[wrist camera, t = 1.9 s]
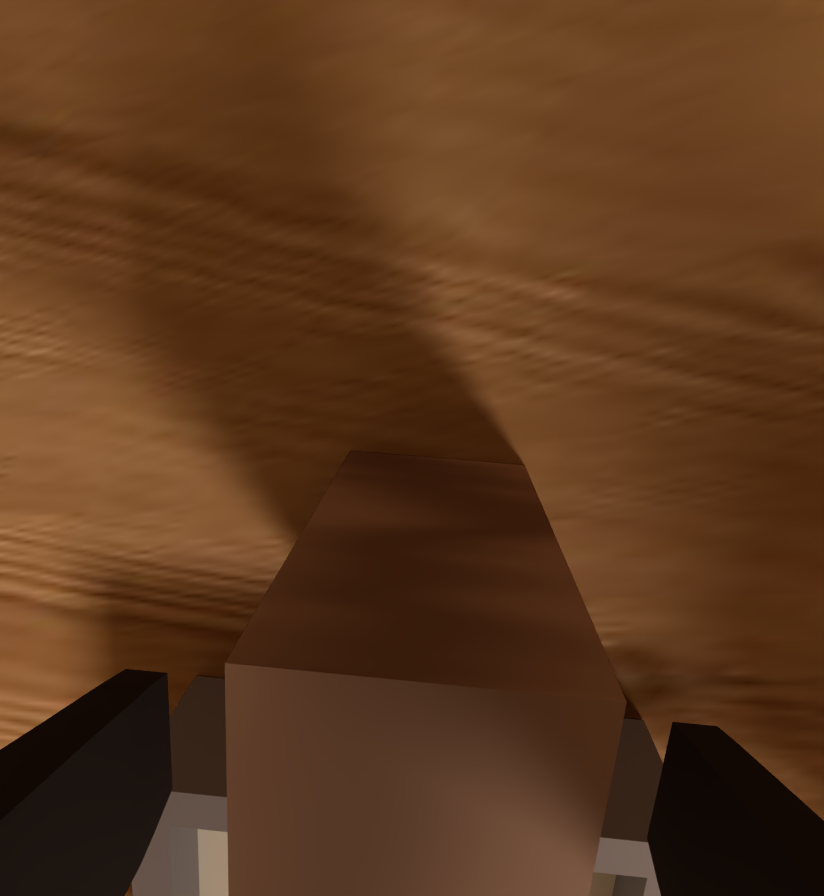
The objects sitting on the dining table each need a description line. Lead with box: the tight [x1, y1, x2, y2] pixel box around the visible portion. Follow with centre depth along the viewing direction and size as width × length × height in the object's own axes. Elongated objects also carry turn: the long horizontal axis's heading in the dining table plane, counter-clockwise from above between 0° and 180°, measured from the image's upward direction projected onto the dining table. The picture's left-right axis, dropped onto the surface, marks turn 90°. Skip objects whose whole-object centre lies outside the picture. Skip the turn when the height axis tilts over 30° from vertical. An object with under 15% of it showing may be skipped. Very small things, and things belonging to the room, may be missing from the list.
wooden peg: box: [225, 451, 627, 896], centre depth 12 cm, size 4×4×9 cm
